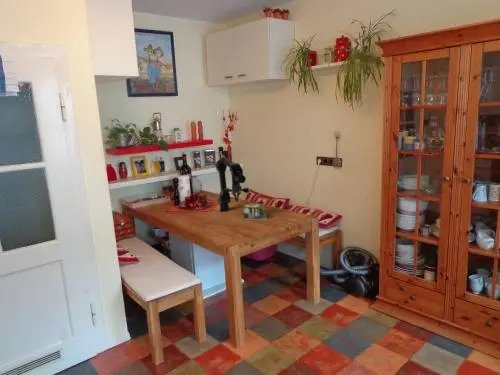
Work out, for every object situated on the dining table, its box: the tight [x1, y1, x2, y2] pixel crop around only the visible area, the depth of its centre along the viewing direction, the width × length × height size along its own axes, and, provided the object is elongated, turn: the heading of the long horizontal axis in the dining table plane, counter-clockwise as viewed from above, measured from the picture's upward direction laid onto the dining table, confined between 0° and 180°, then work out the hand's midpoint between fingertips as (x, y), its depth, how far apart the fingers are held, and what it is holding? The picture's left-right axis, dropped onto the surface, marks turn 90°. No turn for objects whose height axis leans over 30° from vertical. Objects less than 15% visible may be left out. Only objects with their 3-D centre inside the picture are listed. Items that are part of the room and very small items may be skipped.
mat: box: [243, 212, 268, 221], centre depth 274 cm, size 16×16×1 cm
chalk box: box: [243, 203, 265, 219], centre depth 271 cm, size 9×9×15 cm
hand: (236, 201), depth 273 cm, fingers closed
